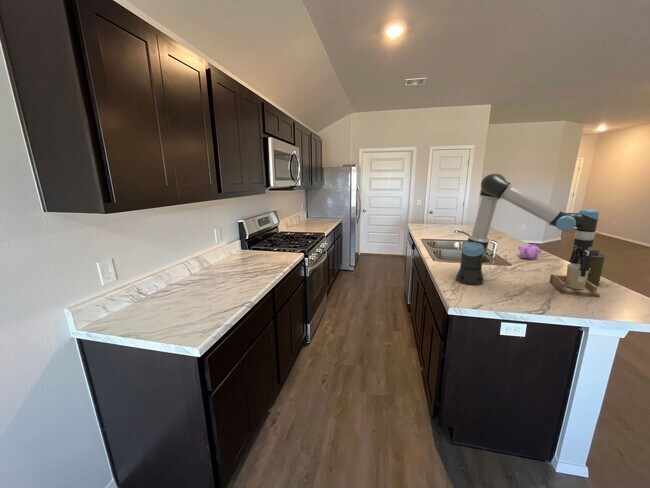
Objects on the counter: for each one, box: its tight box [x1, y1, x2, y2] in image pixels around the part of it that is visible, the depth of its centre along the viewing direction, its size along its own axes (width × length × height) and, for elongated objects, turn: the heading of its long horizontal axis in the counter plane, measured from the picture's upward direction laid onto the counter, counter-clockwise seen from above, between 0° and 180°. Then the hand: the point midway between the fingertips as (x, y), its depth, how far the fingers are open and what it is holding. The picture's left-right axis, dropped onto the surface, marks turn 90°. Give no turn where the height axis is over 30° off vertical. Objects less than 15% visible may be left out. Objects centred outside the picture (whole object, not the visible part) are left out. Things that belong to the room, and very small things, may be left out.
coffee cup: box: [565, 262, 590, 289], centre depth 151 cm, size 9×9×12 cm
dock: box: [548, 274, 601, 298], centre depth 154 cm, size 16×18×5 cm
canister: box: [578, 248, 606, 287], centre depth 162 cm, size 11×10×20 cm
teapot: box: [517, 244, 542, 261], centre depth 213 cm, size 15×13×11 cm
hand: (576, 278), depth 151 cm, fingers closed on coffee cup, 9 cm apart
